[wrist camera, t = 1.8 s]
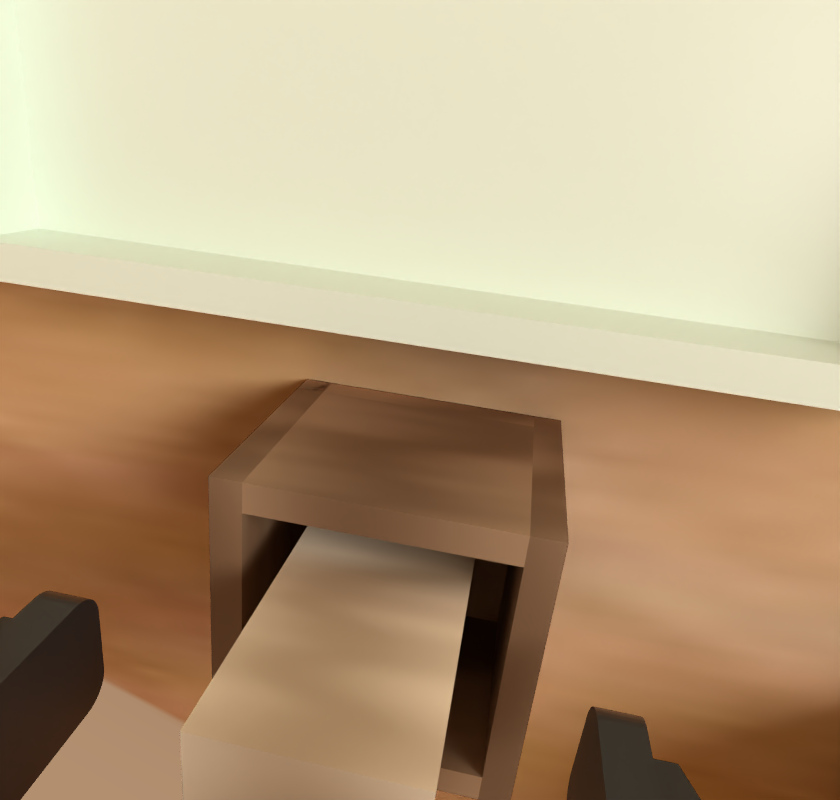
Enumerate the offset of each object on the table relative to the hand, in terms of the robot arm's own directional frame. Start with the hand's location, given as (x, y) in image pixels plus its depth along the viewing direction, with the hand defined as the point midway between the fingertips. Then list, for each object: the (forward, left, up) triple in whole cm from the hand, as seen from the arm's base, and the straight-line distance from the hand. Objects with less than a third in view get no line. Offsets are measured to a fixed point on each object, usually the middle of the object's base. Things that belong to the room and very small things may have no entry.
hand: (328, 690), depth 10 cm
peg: (0, 0, -6) cm, 6 cm away
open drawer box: (0, 0, -6) cm, 6 cm away
